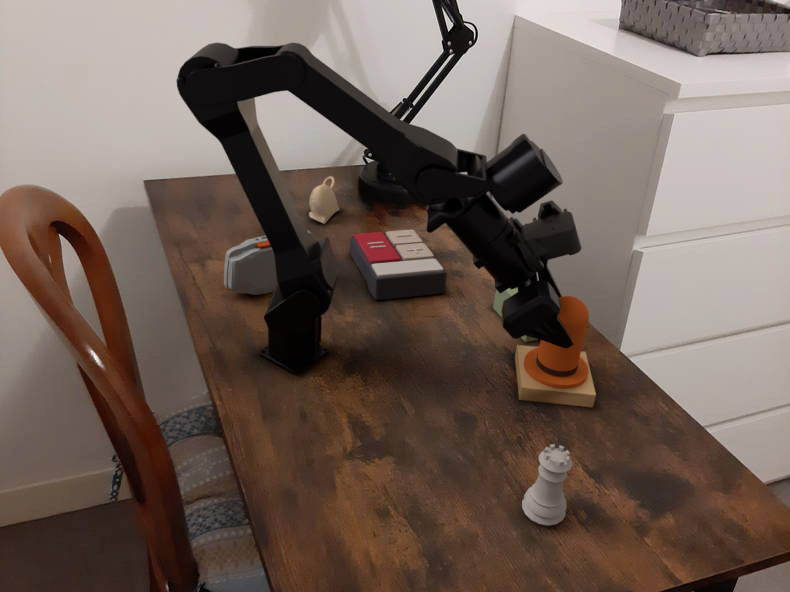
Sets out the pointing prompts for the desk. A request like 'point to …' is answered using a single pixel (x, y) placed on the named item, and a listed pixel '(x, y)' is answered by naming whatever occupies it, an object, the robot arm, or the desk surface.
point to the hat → (562, 350)
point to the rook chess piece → (548, 488)
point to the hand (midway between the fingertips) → (565, 324)
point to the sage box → (499, 303)
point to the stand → (547, 394)
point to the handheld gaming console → (251, 267)
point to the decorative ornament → (323, 202)
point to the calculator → (397, 264)
